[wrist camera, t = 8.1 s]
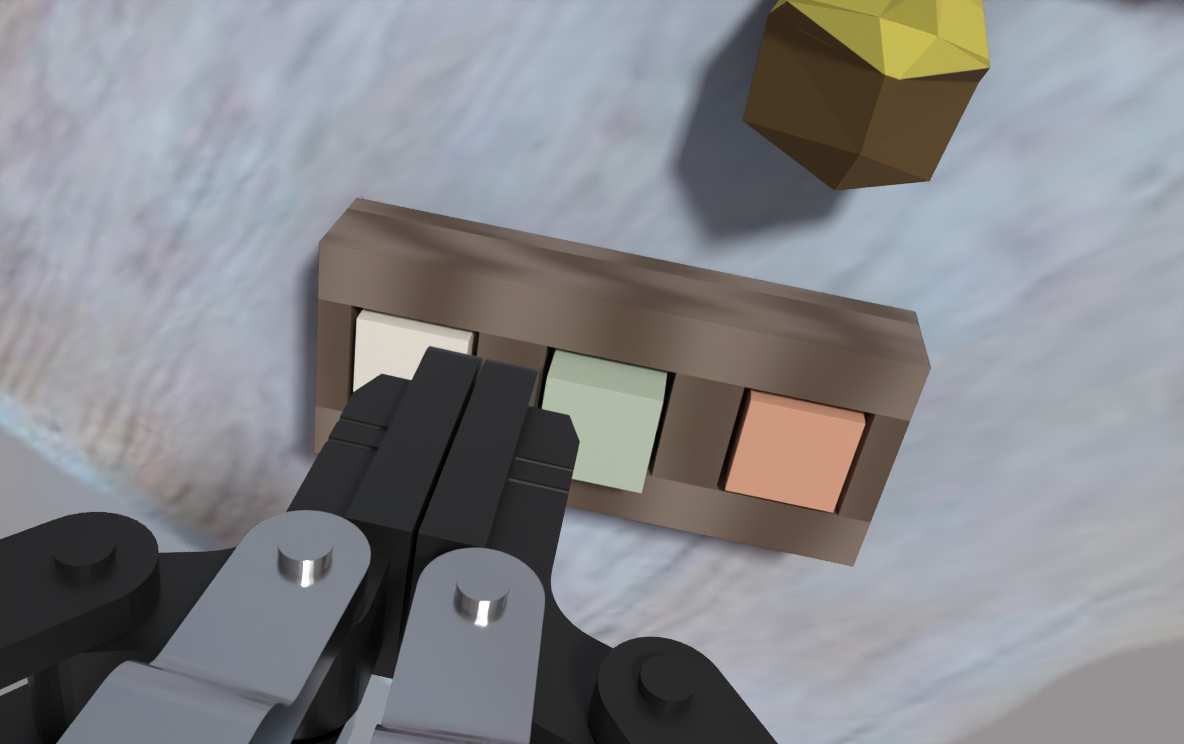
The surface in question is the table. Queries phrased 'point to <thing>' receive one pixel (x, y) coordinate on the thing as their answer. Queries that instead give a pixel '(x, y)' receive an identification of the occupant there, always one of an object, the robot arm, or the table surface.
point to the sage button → (607, 415)
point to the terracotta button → (791, 449)
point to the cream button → (402, 344)
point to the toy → (867, 85)
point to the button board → (638, 356)
